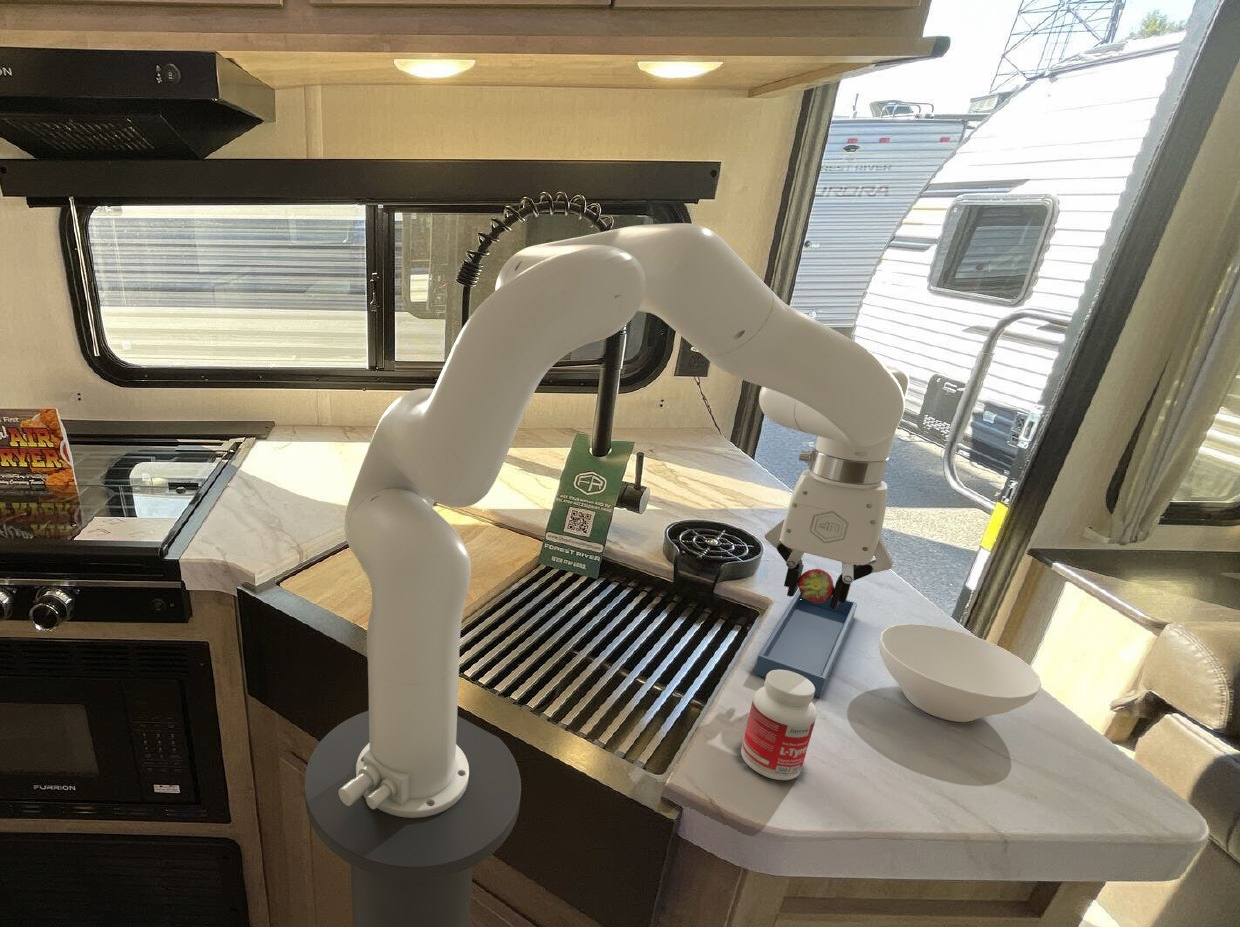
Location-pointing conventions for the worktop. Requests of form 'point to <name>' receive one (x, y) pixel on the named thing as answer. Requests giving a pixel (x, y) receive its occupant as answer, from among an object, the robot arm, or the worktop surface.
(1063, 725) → the worktop surface
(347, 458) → the worktop surface
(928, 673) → the bowl
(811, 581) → the fruit
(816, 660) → the tray
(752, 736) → the pill bottle
